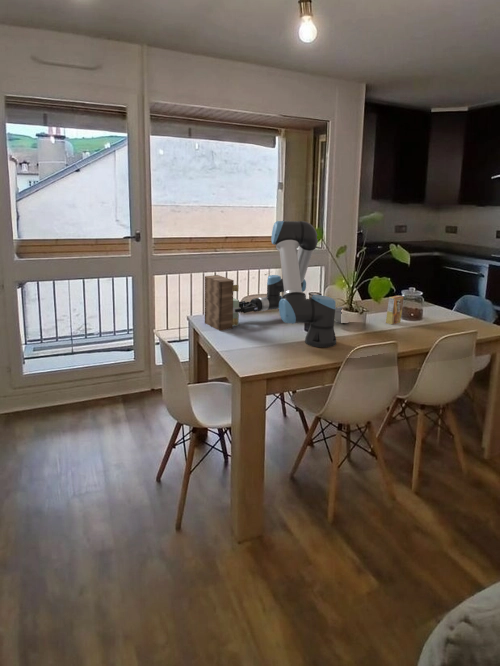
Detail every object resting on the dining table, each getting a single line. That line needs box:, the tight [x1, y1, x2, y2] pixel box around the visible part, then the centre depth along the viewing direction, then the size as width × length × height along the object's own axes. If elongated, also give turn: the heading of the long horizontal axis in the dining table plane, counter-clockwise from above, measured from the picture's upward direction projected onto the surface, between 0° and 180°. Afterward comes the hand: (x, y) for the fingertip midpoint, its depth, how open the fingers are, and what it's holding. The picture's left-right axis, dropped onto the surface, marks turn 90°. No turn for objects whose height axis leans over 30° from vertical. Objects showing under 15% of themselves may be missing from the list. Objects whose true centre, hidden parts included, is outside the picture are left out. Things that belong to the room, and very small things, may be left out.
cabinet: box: [204, 274, 239, 331], centre depth 259 cm, size 18×10×26 cm, turn 34°
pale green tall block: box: [233, 297, 240, 327], centre depth 266 cm, size 8×4×14 cm, turn 34°
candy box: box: [385, 295, 405, 325], centre depth 278 cm, size 9×4×15 cm, turn 129°
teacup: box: [334, 306, 344, 324], centre depth 278 cm, size 14×11×8 cm
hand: (224, 309), depth 263 cm, fingers open, 9 cm apart
